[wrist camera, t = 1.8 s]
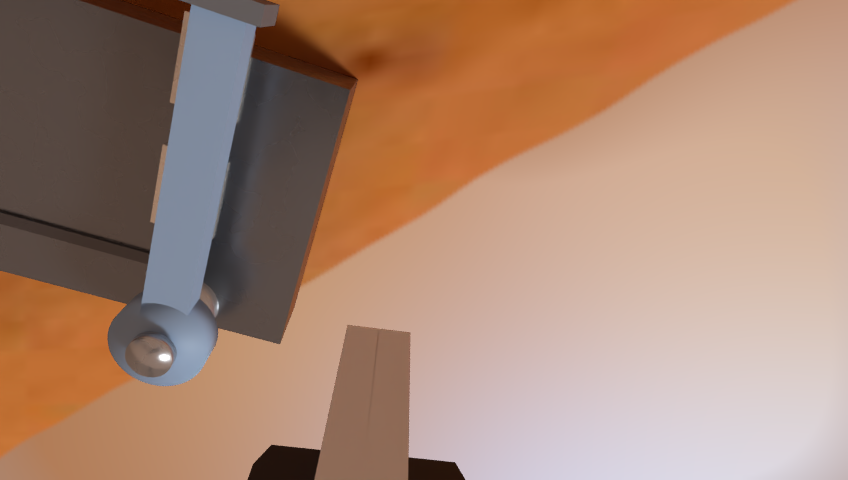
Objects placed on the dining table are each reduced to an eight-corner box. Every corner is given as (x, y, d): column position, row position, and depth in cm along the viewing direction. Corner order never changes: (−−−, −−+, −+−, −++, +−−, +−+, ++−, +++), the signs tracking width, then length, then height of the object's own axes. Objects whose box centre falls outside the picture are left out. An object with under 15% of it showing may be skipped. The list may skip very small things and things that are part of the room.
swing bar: (211, 370, 29) (194, 401, 27) (122, 348, 28) (97, 377, 26) (294, 10, 23) (281, 10, 20) (182, -29, 22) (156, -33, 20)
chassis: (-23, 229, 32) (-175, 307, 24) (-10, -67, 27) (-202, -100, 18) (292, 314, 35) (254, 412, 26) (363, 60, 29) (343, 81, 21)
